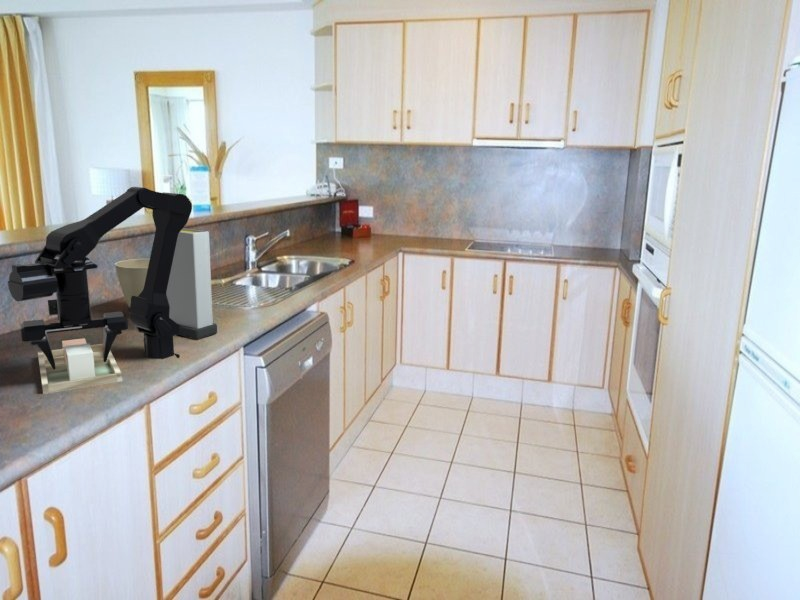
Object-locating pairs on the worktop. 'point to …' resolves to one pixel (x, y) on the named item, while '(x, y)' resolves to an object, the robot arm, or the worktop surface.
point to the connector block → (80, 361)
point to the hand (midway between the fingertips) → (80, 365)
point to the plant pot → (132, 277)
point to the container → (191, 285)
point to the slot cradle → (61, 382)
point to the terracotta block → (71, 342)
